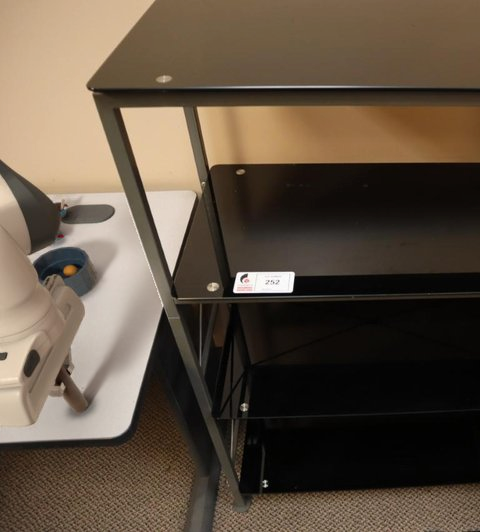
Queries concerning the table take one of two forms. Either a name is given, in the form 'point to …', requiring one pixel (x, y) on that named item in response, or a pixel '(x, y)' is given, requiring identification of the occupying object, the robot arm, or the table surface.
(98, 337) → the table surface
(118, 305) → the table surface
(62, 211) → the hoverbike
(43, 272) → the bowl
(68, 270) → the bead
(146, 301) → the table surface
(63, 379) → the stick
